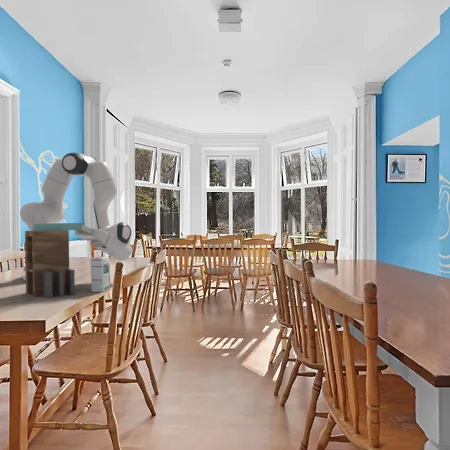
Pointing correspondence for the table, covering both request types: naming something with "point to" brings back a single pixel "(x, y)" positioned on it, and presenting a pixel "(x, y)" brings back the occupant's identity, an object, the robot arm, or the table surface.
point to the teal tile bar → (57, 226)
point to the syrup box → (100, 274)
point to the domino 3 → (70, 281)
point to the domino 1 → (47, 284)
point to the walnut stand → (45, 257)
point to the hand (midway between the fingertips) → (76, 226)
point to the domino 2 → (59, 283)
